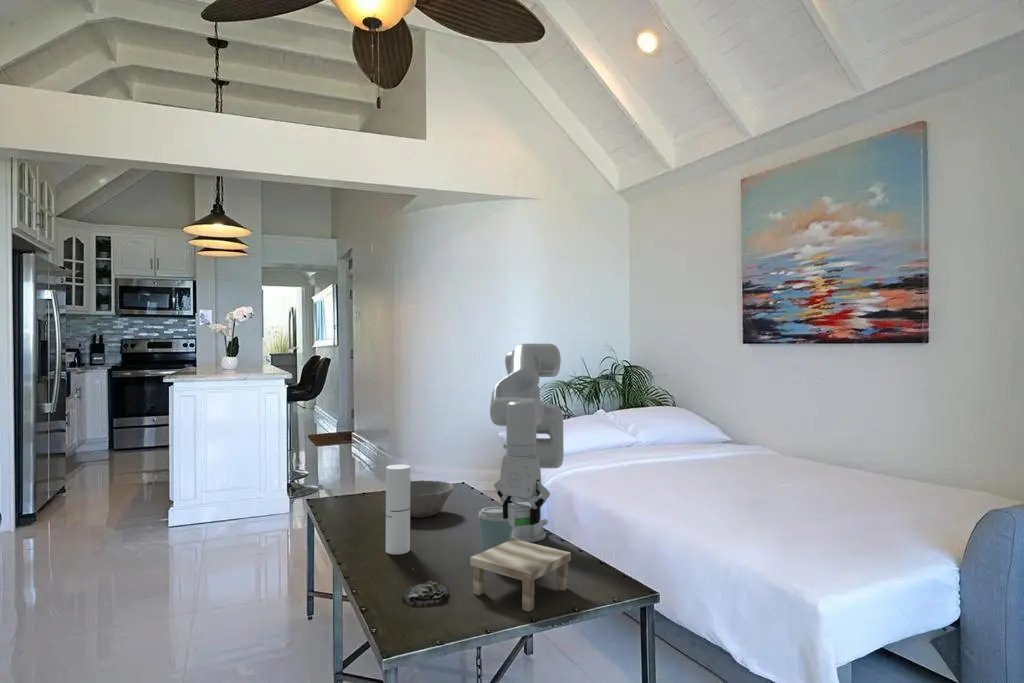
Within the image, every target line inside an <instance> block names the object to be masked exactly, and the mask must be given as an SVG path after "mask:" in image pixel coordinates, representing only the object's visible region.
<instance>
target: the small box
mask: <svg viewBox="0 0 1024 683" xmlns="http://www.w3.org/2000/svg"><path fill="white" fill-rule="evenodd" d="M531 508H532V506H531V504H530V503H529V502H520V503H508V523H509V524H510V525H511V526H512V527H513V528H518V527H530V526H534V525H531V524H530V509H531Z"/></svg>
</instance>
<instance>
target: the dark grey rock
mask: <svg viewBox="0 0 1024 683" xmlns="http://www.w3.org/2000/svg"><path fill="white" fill-rule="evenodd" d="M449 597H450V593H449V588H448V587H445V586H443V585H442V584H440V585H439V583H437V582H434V581H432V580H430V581H429V580H428V581H427V582H425V583H420V584H419V583H417V584H414V585H413V586H412V585H411V586H409V587H408V588H407V590H405V592H404V594H403V596H402V599H401V603H402V604H404V605H405V606H408V607H409V608H410V607H411V608H412V607H415V608H422V607H423V608H426V607H434V606H438V605H440V604H442V603H444V602H445V601H447V600H448V599H449Z"/></svg>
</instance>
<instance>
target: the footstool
mask: <svg viewBox="0 0 1024 683" xmlns="http://www.w3.org/2000/svg"><path fill="white" fill-rule="evenodd" d="M571 556H572V554H571V552H570V551H565V550H561V549H557V548H553V547H549V546H544V545H541V544H536V543H534V542H525V541H521V540H516V539H512V540H510V541H507V542H505V543H503V544H500V545H498V546H496V547H493V548H491V549H489V550H486V551H484V552H483V551H482V552H479V553H477V554H474V555H473V556H470V558H469V564H470V566H472V594H473V595H476V596H482V595H483V594H485V571H489V572H492V573H495V574H499V575H501V576H505V577H509V578H513V579H515V580H519V581H521V584H522V585H521V586H522V587H521V588H522V590H521V593H522V594H521V597H522V599H521V602H522V603H521V604H522V606H521V607H522V608H521V610H522V611H525V612H532V611H533V610H534V609H535V580H537V579H539V578H541V577H543V576H544V575H547V574H548V573H551V572H552V571H553V570H556V589H557V590H558V591H563V592H564V591H566V590H567V589H569V582H568V581H569V562H570V561H572V560H571V559H572V558H571Z"/></svg>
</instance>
